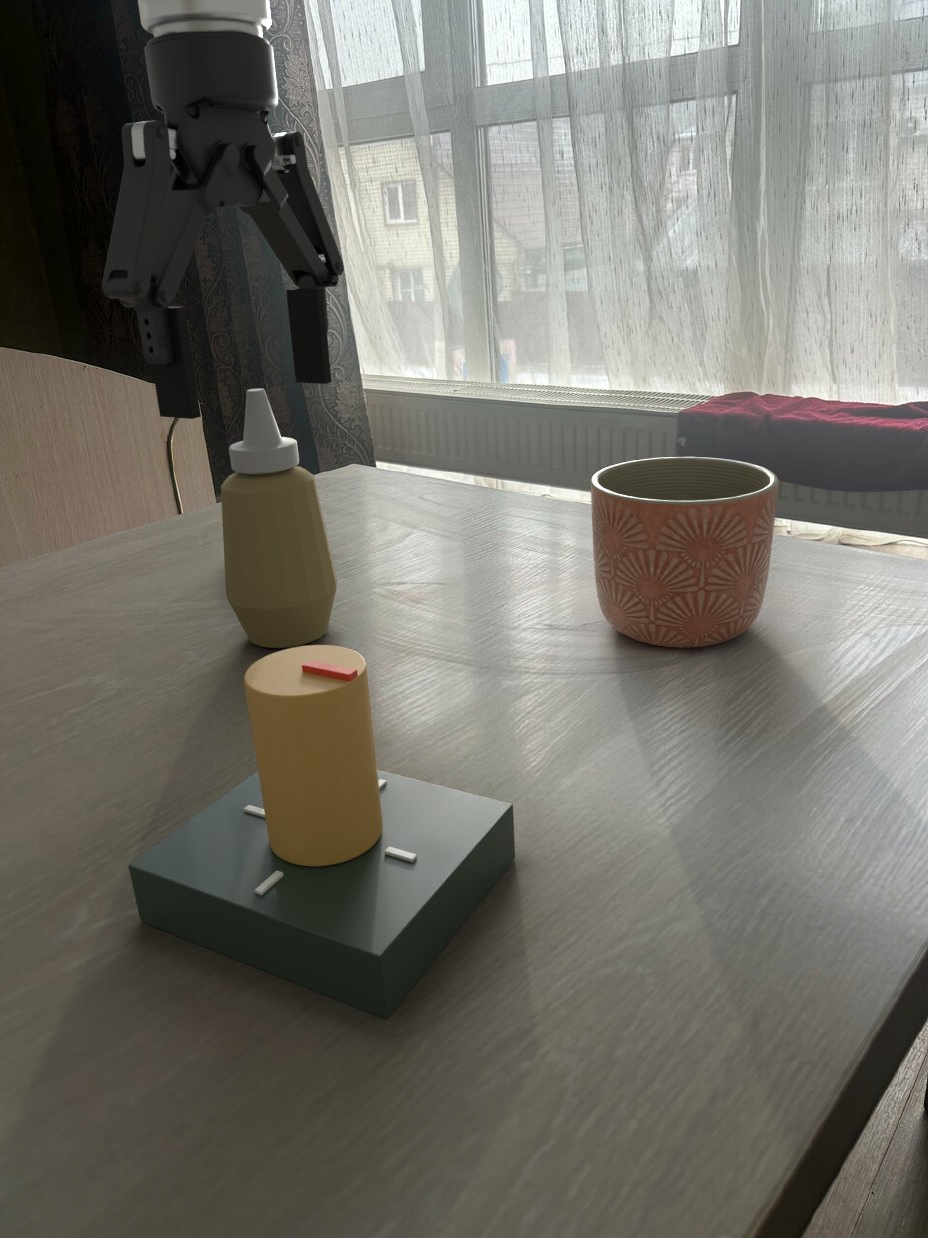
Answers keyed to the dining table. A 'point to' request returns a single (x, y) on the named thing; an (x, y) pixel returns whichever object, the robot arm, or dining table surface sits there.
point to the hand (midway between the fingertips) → (252, 398)
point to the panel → (331, 889)
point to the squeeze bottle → (274, 537)
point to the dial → (315, 753)
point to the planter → (682, 547)
